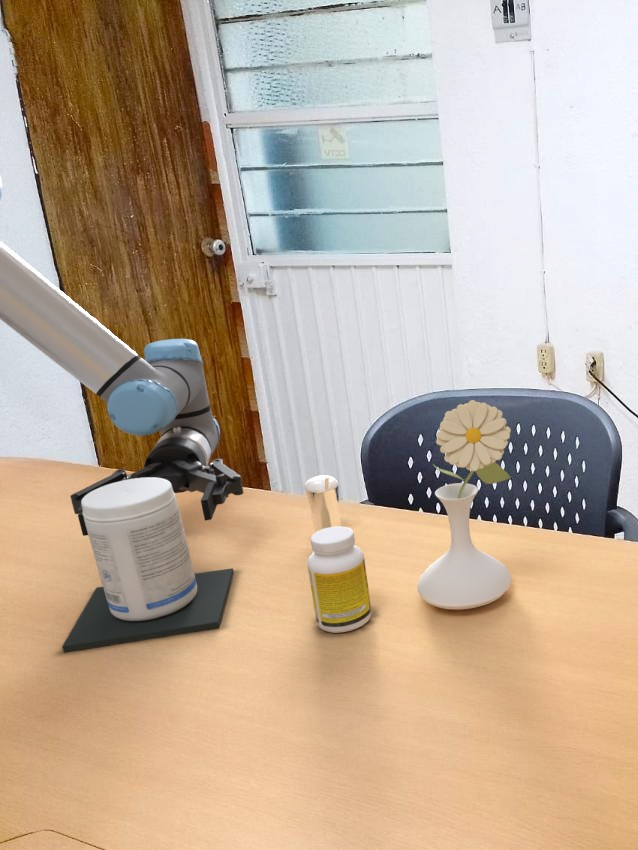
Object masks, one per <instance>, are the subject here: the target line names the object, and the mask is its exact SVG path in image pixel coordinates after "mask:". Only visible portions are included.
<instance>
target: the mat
mask: <svg viewBox="0 0 638 850" xmlns="http://www.w3.org/2000/svg"><path fill="white" fill-rule="evenodd" d="M194 574H195V579H196V583H197V592H196V595H195V597H194V598H193V599H192V600H191V601H190V602H189V603H188V604H187V605H186V606H184V607H183V608H181V609H179V610H178V611H176V612H173V613H171V614H168V615H165V616H161V617H158V618H155V619H151V620H145V621H126V620H121V619H119V618H116V617H115V616H114V615H113V614H112V613H111V612H110V609H109V605H108V602H107V598H106V595H105V591H104V588H103V586H97V587H96V588H95V589H94V591H93V593H92V595H91V596H90V597H89V599H88V601H87V603H86V605H85V606H84V608H83V609H82V612H80V615H79V617H78V618H77V620H76V621H75V623H74V626H73V627H72V629H71V631H70V632H69V633H68V636H67V638H65V641H64V643H63V644H62V645H61V646H62V647H61V648H62V651H63V653H68V652H75V651H81V650H87V649H93V648H101V647H107V646H112V645H118V644H127V643H131V642H138V641H143V640H151V639H157V638H163V637H170V636H175V635H180V634H181V635H182V634H187V633H193V632H201V631H207V630H215V629H219V628H220V626H221V623H222V619H223V615H224V612H225V611H224V610H225V606H226V603H227V600H228V596H229V592H230V589H231V584H232V581H233V576H234V569H233V567H232V568H231V567H230V568H224V569H217V570H211V571H203V572H196V573H195V572H194Z"/></svg>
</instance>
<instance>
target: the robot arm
mask: <svg viewBox="0 0 638 850" xmlns="http://www.w3.org/2000/svg"><path fill="white" fill-rule="evenodd" d="M2 182H3V181H2V178H1V176H0V201H1V199H2V196H3V183H2ZM0 320H1V322H3V323H4V324H6V325H7V326H8V327H10V328H11V329H12V330H14V331H15V332H16V333H17V334H19V336H21V337H23V338H24V339H25V340H26V341H28V342H29V343H30V344H31V345H32V346H33V347H35V348H36V349H38V350H39V351H40V352H41V353H43V354H44V355H45V356H47V358H49V359H51V360H52V361H53V362H54V363H56V364H57V365H58V366H60V368H62V369H63V370H65V371H66V372H67V373H68V374H70V375H71V376H72V377H73V378H75V379H76V380H77V381H79V382H80V383H81V384H82V385H84V386H85V387H86V388H87V389H88V390H90V391H92V393H94V394H95V395H97V396H98V397H99V398H100V399H101V400H102V401H104V402H105V403H106V409H107V413H108V416H109V418H110V419H111V422H112V424H113V425H114V426H115V427H116V428H118V429H119V430H120V431H122V432H123V433H125V434H128V435H131V436H136V437H146V436H151V435H153V434H156V433H157V432H159V431H160V435H161V436H160V437H159V439H158V441H157V442H156V443H155V445H154V446H153V448H152V449H151V450H150V452H149V453H148V454H147V457H146V458H145V461H144V465H143V468H140V469H138V470H137V471H135V472H132V473H127V472H126V469H125V468H118V469H117V470H115V471H114V472H113V473H112V474H110V475H109V476H106V477H104V478H102V479H100V480H98V481H96V482H94V483H93V484H90V485H88V486H86V487H84V488H82V489H80V490H78V491H76V492H74V493H72V494H71V495H70V496H69V497H70V501H71V504H72V508H73V513H74V515H77V518H78V522H79V526H80V529H81V534H82V536H83V537H84V536H85V537H86V536H89V535H88V532H87V528H86V524H85V521H84V516H83V509H82V504H81V501H82V499H83V498H84V496H86V495H87V494H88V493H90V492H91V491H93V490H95V489H98V488H100V487H102V486H105V485H108V484H111V483H115V482H119V481H123V480H128V479H135V478H145V477H155V478H162V479H166V480H168V481H169V482H170V483H171V485H172V488H173V492H174V493H175V494H181V493H185V492H190V493H194V492H199V493H202V494H203V495H202V497H201V499H200V504H201V508H202V514H203V518H204V521H211V520H212V519H213V517H214V514H215V512H216V510H217V509H216V508H217V506H218V505H222V504H223V505H224V504H225V502H226V500H227V499H228V498H229V497H230V496H229V495H230V494H232V495H234V496H241V495H243V494H244V488H243V483H242V477H241V475H240V474H238V473H237V472H236V471H234V470H233V469H231V468H230V467H228V466H227V465H225V464H224V462H223V458H215V459H213V460H212V462H210V460H211V457H212V455H213V454H214V453H215V451H216V450H217V448H218V446H219V442H220V435H221V430H220V429H221V428H220V425H219V423H218V421H217V419H216V418H215V417H214V416H213V413H212V408H211V403H210V398H209V393H208V388H207V387H208V386H207V381H206V376H205V370H204V360H203V359H202V356H201V352H200V348H199V345H198V343H197V342H196V341H194V340H192V339H188V338H170V339H163V340H157V341H153V342H150V343H148V344H146V345H145V346H144V349H143V355H144V358H142V357H141V356H140V355H139V354H138V353H137V352H136V351H134V350H133V349H132V348H131V347H130V346H129V345H127V344H126V343H125V342H124V341H122V340H121V339H119V337H118V336H116V335H115V334H113V333H112V331H110V330H109V329H107V327H105V326H104V325H103V324H102V323H100V321H98V320H97V319H96V318H95V317H93V316H92V315H91V314H89V313H88V312H87V311H85V309H83V308H82V307H81V306H80V305H79V304H78V303H76V302H75V301H74V300H72V299H71V298H70V297H69V296H68V295H67V294H65V293H64V292H63V291H62V290H60V289H59V288H58V287H56V286H55V285H54V284H53V283H52V282H51V281H49V280H48V279H47V278H46V277H45V276H44V275H42V274H41V273H40V272H38V271H37V270H36V269H35V268H34V267H32V265H30V264H29V263H28V262H26V261H25V260H24V259H22V257H20V256H19V255H18V254H17V253H15V252H14V251H13V250H12V249H10V248H9V247H8V246H7V245H6V244H4V242H2V241H1V240H0Z"/></svg>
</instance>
